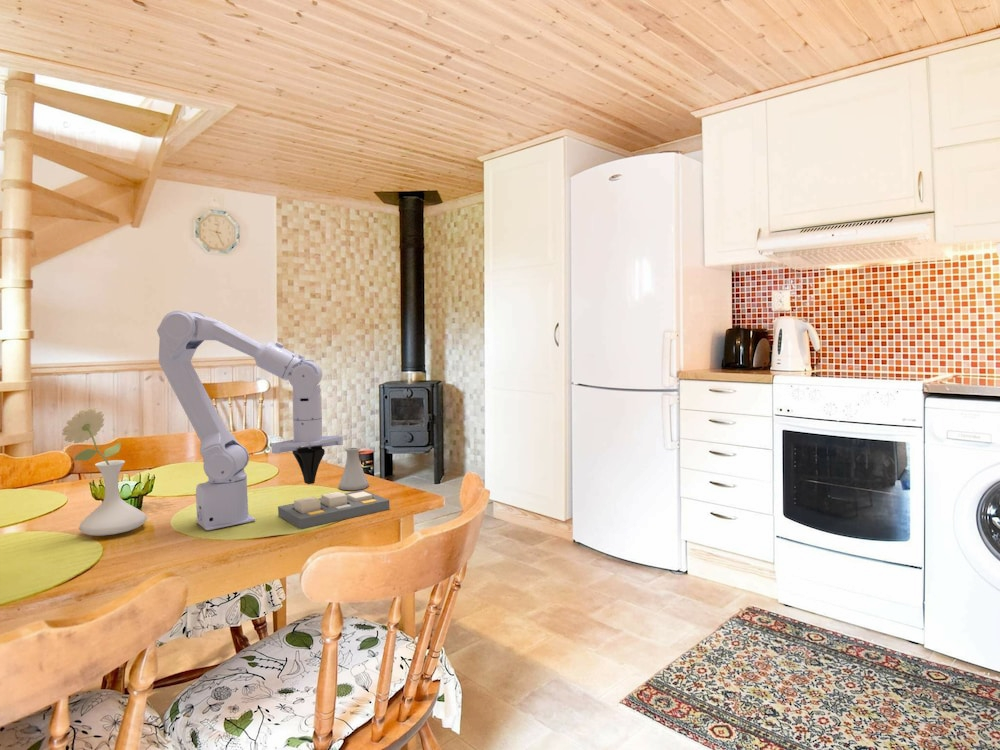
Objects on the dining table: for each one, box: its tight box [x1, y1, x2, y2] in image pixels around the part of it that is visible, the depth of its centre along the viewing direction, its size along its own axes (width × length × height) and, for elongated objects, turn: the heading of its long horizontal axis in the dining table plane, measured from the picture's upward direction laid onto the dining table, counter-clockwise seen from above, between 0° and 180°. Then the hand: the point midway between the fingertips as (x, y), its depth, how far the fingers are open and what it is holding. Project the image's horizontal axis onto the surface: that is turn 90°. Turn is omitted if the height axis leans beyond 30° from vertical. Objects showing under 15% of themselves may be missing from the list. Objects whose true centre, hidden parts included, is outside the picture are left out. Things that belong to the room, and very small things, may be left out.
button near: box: [293, 496, 321, 513], centre depth 127 cm, size 4×4×2 cm
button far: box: [347, 491, 372, 502], centre depth 135 cm, size 4×4×2 cm
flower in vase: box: [62, 407, 148, 537], centre depth 119 cm, size 13×11×25 cm
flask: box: [338, 446, 370, 491], centre depth 152 cm, size 7×7×10 cm
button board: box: [277, 489, 391, 530], centre depth 131 cm, size 20×12×2 cm, turn 130°
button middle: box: [321, 491, 347, 508], centre depth 131 cm, size 4×4×2 cm
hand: (309, 483), depth 127 cm, fingers closed
